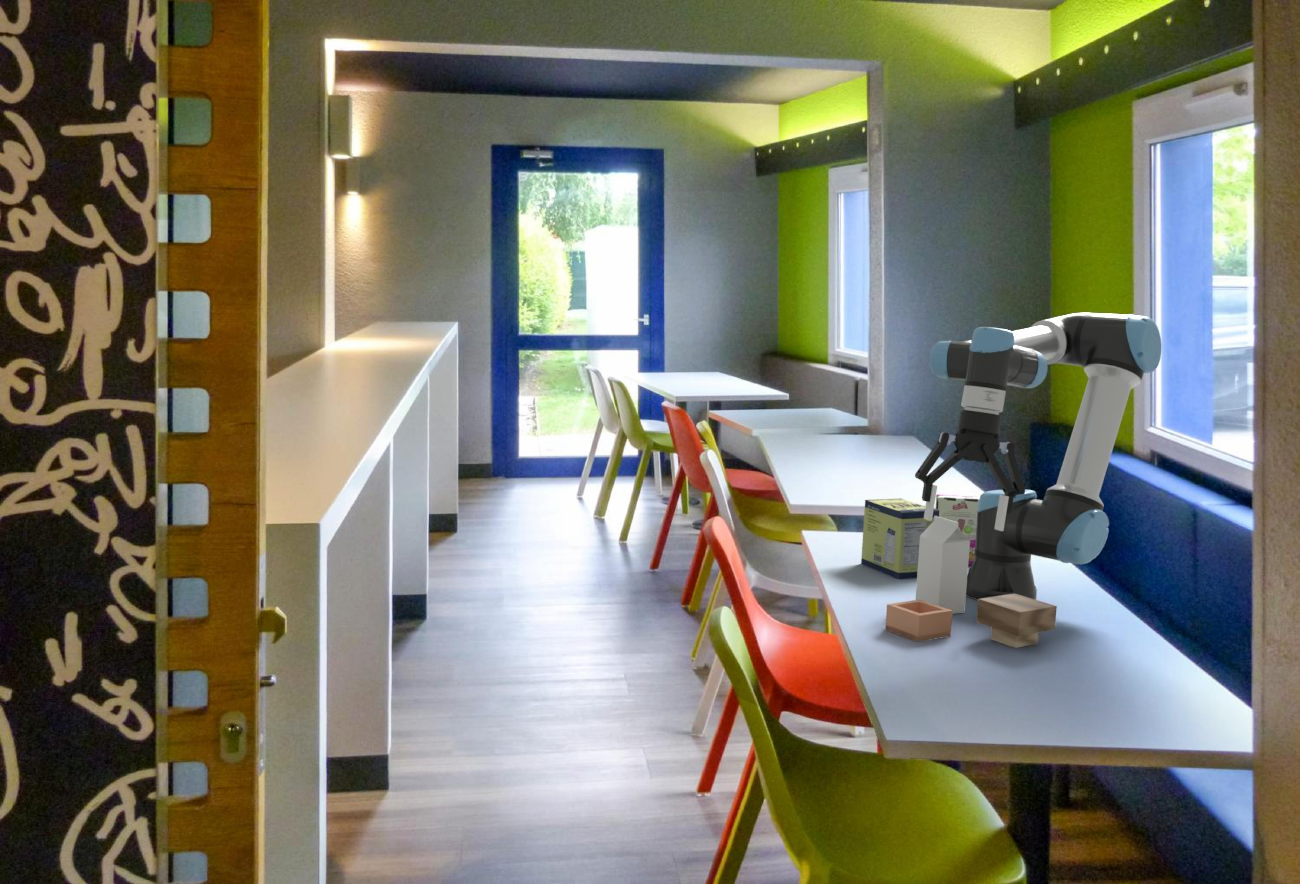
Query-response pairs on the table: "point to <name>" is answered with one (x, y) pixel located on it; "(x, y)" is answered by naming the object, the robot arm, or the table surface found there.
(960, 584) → the milk carton
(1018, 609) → the brown box
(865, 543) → the protein box
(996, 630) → the stand
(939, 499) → the candy bar box
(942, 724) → the table surface
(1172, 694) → the table surface
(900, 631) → the open square box
